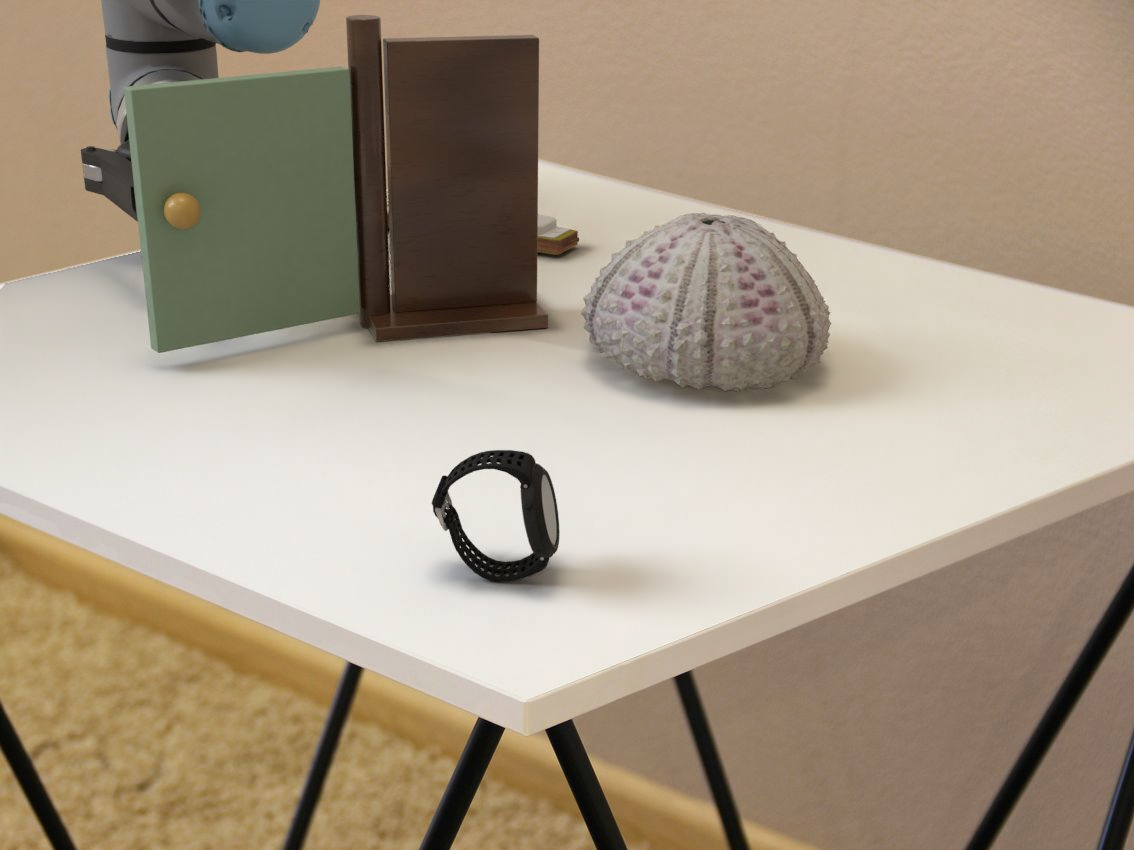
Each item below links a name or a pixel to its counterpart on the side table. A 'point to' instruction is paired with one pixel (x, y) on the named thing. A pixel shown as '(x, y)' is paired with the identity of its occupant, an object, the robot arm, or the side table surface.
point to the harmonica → (549, 236)
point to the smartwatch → (535, 509)
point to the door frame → (445, 182)
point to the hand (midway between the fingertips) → (217, 232)
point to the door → (244, 203)
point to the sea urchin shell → (708, 306)
